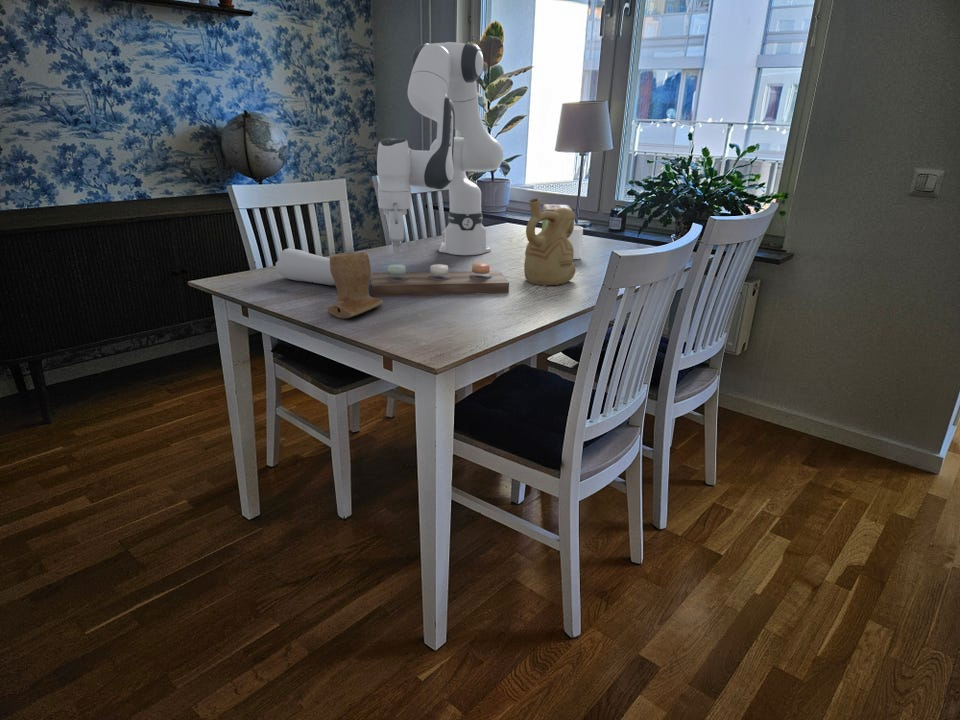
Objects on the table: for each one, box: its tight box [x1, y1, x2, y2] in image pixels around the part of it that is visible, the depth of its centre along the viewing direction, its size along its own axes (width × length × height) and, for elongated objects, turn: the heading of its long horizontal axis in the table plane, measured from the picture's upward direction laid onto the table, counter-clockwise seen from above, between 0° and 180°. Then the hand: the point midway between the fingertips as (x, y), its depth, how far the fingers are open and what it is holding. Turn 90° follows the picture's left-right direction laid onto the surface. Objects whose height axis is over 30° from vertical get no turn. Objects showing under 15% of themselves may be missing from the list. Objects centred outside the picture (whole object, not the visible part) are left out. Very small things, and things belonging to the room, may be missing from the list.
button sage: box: [387, 263, 407, 276], centre depth 176 cm, size 5×5×2 cm
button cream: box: [430, 263, 449, 275], centre depth 178 cm, size 5×5×2 cm
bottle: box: [275, 247, 372, 286], centre depth 180 cm, size 9×9×30 cm
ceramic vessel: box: [523, 198, 577, 286], centre depth 185 cm, size 17×20×25 cm
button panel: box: [371, 270, 510, 297], centre depth 179 cm, size 14×38×3 cm, turn 99°
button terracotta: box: [471, 262, 491, 274], centre depth 180 cm, size 5×5×2 cm
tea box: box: [541, 203, 573, 231], centre depth 237 cm, size 15×10×15 cm, turn 178°
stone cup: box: [326, 251, 384, 319], centre depth 155 cm, size 15×12×15 cm
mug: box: [567, 225, 584, 260], centre depth 216 cm, size 9×12×11 cm
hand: (396, 251), depth 174 cm, fingers closed
